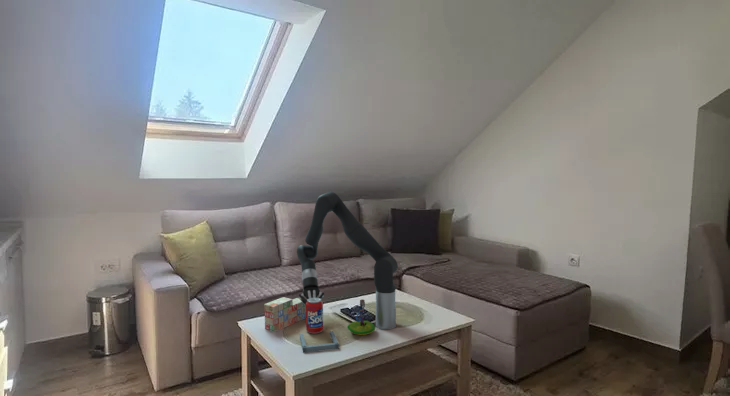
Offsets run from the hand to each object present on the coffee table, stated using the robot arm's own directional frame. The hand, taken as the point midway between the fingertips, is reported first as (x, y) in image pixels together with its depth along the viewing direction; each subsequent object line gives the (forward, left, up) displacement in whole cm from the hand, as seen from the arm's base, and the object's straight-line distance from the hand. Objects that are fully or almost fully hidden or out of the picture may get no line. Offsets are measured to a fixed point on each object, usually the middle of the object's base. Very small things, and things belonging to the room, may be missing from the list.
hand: (313, 312), depth 207 cm
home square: (-3, +19, -7) cm, 20 cm away
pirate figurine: (-22, +10, -7) cm, 25 cm away
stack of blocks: (+13, -5, -7) cm, 16 cm away
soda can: (-1, +6, -7) cm, 9 cm away
